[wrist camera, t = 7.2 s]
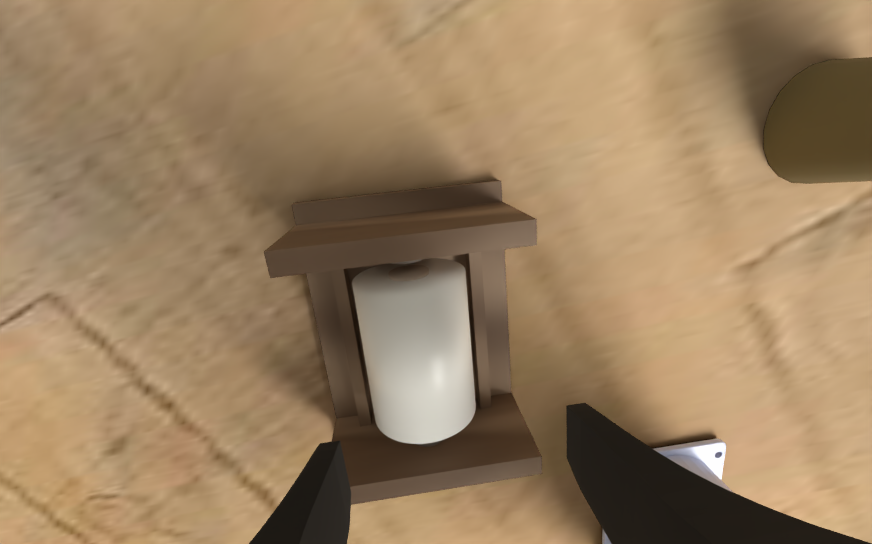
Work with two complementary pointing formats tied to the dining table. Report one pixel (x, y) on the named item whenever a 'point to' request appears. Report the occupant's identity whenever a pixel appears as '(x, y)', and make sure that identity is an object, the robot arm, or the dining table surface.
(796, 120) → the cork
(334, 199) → the holder
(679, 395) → the dining table surface
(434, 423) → the roll
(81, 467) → the dining table surface
